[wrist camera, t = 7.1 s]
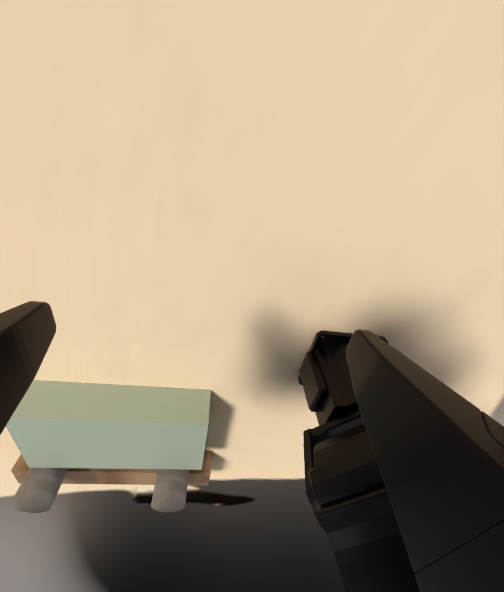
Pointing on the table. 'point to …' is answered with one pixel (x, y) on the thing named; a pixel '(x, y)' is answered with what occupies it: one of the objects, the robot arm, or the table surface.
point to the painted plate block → (111, 426)
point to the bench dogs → (46, 482)
